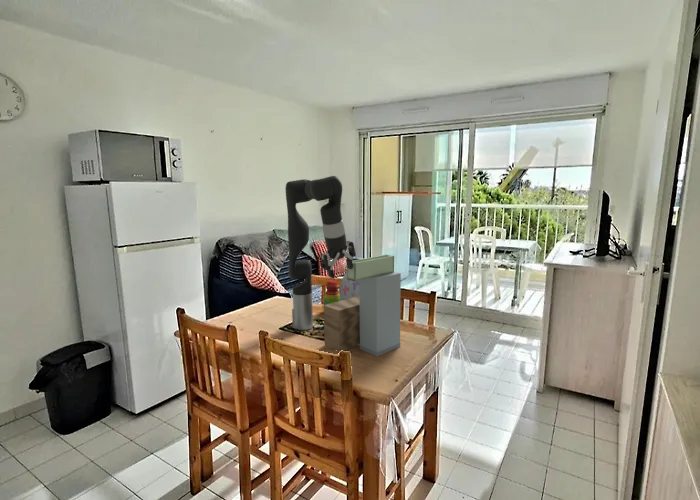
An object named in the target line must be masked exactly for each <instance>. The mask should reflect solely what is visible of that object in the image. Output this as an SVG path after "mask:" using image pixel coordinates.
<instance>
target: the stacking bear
mask: <svg viewBox="0 0 700 500" xmlns="http://www.w3.org/2000/svg"><path fill="white" fill-rule="evenodd" d="M325 289H326V291H325V292H324V296H323V306H324V305H326V304H330V303H334V302H338V301H340V284H339V283H338V281H336V280H335V278H334V279H333V278H332V279H331V280H327V282H326V283H325Z"/></svg>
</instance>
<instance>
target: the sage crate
mask: <svg viewBox="0 0 700 500" xmlns="http://www.w3.org/2000/svg"><path fill="white" fill-rule="evenodd" d="M352 264H353V267H352V269H348V268H347V267H346V272H347V280H351V281H359V280H363V279H368V278H372V277H376V276H381V275H385V274H389V273H394V272H395V255H392V254H382V255H377V256H371V257H365V258H359V259H354V260H353V259H352Z"/></svg>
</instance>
